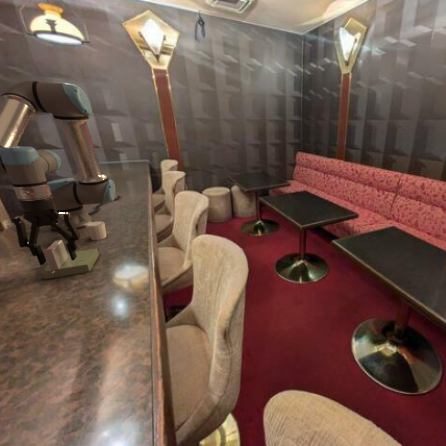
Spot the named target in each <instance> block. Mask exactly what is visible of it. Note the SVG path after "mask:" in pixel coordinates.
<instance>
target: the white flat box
mask: <svg viewBox="0 0 446 446" xmlns="http://www.w3.org/2000/svg"><path fill="white" fill-rule="evenodd" d="M65 246H66V245H65V244H64V241H63V240H62V239H60V240H54V241H53V243H51V245H50V246H48V248H46V249H45V250H44V251H43V253H44V256H45V258H46V262H47V263H48V264H49V266H50V268H51V270H58V269H60V267H61V266H62V265H63V263H64V262H65V261H66V260H67V258H68V255H67V253H68V251H67V250H66V247H65Z"/></svg>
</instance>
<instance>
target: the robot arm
mask: <svg viewBox="0 0 446 446" xmlns="http://www.w3.org/2000/svg"><path fill="white" fill-rule="evenodd" d="M92 113H93V109H92V105H91V102H90V99H89V98H88V96H87V94H86V92H85V91H84V90H83V88H81V87H80V86H79V85H77V84H74V83H67V82H55V81H54V82H53V81H37V80H25V81H21V82H20V81H19V82H17V83H15V84H14V85H12V86H10V87H8V88H7V89H6V90H4V91H3V92H2V93H1V95H0V176H5V175H6V176H7V175H8V177H9V180H10V182H11V185H12V188H13V191H14V192H15V193H14V194H15V196H16V198H17V199H18V200H19V201H18V203H19V205H20V208H21V211H22V212H23V215H21V216H19V215H18V216H15V217H13V218H12V219H11V222H12V223H13V225H14V226H15V229H16V235H17V240H18V245H19V247H20V248H28V249H29V250H30V253H31V255H32V256H33V257H36V258H37V261H38V263H39V266H44V265H45V264H46V263H47V258H46V256H45V253H44V250H43V248H42V245H41V244H39V243H38V239H39V234H40V228H41V227H45V226H46V227H48V226H50V227H51V228H52V230H54V231H56V232H57V233H58V234H59V235H60V236H61V237H62V238H64V239H65V241H66V243H65V246H66V248H67V253H69V254H70V257H71V260H75V259H76V257H77V255H76V253H75V252H76V251H77V250H78V246H77V243H76V242H77V241H79V240H80V238H81V237H82V235H81V233H80V232H79V230H78V229H83V228H86V226H85V225H86V224H87V223H90V222H93V219H92V217H91V215H93V214H95V213H97V212H98V211H100V206H102V205H104V204H111V203H113V202H114V201H117V200H119V198H121V196H120V195H117V196H116V184H115V181H114V180H112V179H109V176H108V175H107V174H105V173H103V171H102V167H101V164H100V162H99V161H100V160H99V158H98V155H97V152H96V149H95V145H94V142H93V139H92V137H91V136H92V135H91V133H90V130H89V127H88V124H87V122H88V121H89V120H90V115H92ZM37 114H52V116H53V119H54V120H56V121H57V122H59V123H60V125H61V128H62V130H63V133H64V135H65V138H66V141H67V144H68V146H69V149H70V153H71V154H72V157H73V160H74V163H75V165H76V168H77V171H78V172H79V173H78V174H79V176H78V178H77V180H76V178H74V177H67V178H60V179H59V178H58V179H53V180H50V181H48V180H47V177H46V175H47V174H51V173H54V172H56V171H57V170H59V169H60V168H61V166H62V159H61V157H60V156H59V155H58V154H57V153H56V152H54V151H52V150H50V149H36V148H34V147H33V146H18V144H19V142H20V140H21V138H22V136H23V134H24V131H25V130H26V127H27V125H28V123H29V121H30V119H33V118H35V116H36V115H37ZM84 205H96V208H97V209H95V210H94V211H91V212H89V213H88V211H86V210H85V208H84ZM26 221H28V223H30V232H29V233H30V234H29V237H28V233H27V232H28V231H27V227H26Z"/></svg>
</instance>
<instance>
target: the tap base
mask: <svg viewBox="0 0 446 446" xmlns="http://www.w3.org/2000/svg"><path fill="white" fill-rule="evenodd" d="M75 253H76V255H77V257H76V259H75V260H71V257H70V254H69V252H67V255H68V258H67V260H66V261H65V262H64V263H63V265H62V266H61V267H60V269H58V270H51V268H50V266H49V263H48V264H47V265H46V266H45V267H44V269H43V270H42V271H41V272H42V275H43V278H44V280H47V279H54V278H61V277H65V276H72V275H78V274H85V273H88V272H91V270H92V269H93V267H94V264H95V263H96V261H97V259H98V257H99V251H98V248H91V249H85V250H75ZM41 266H42V265H39V266H34V268H41Z"/></svg>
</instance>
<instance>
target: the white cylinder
mask: <svg viewBox="0 0 446 446" xmlns="http://www.w3.org/2000/svg"><path fill="white" fill-rule="evenodd" d="M85 228H86V231H87V233H88V235H89V237H90V240H91V241H100V240H103V239H105V238H107V231H106V223H105V221H103V220H96V221H95V220H94V221H92V222H90V223H87V224H86V225H85Z"/></svg>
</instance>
